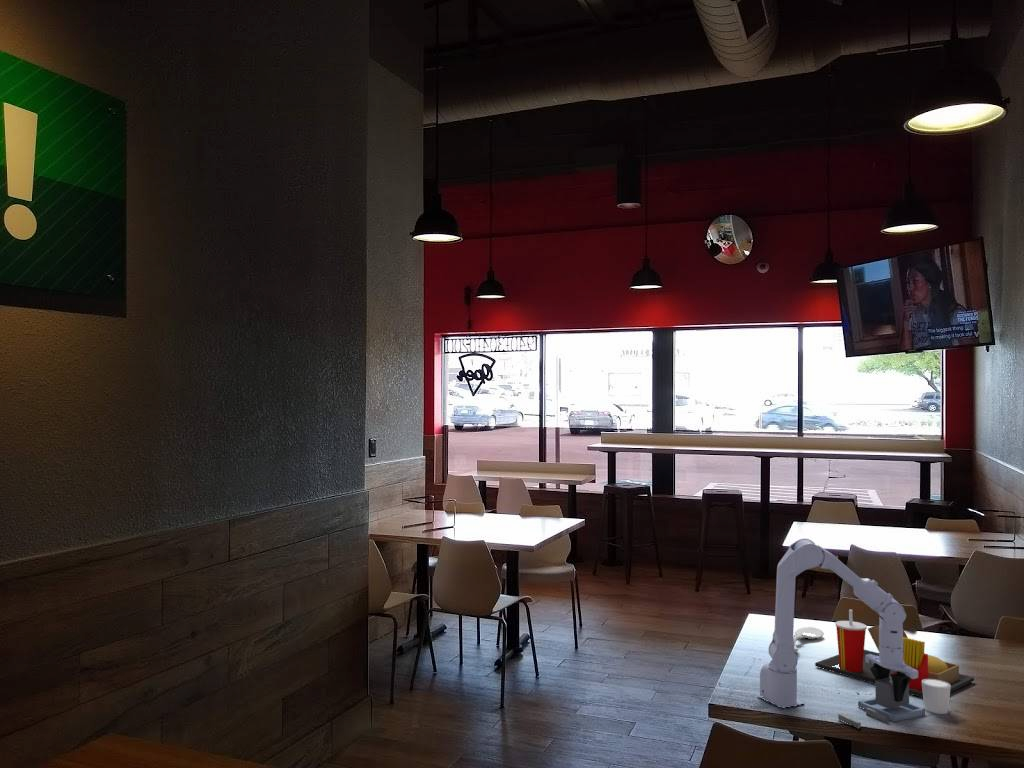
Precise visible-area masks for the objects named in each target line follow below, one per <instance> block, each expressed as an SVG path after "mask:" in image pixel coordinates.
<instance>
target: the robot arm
mask: <svg viewBox="0 0 1024 768" xmlns="http://www.w3.org/2000/svg"><path fill="white" fill-rule="evenodd" d="M818 566H819V567H820V569H828V570H830V571H832V572H833V573H835V574H836V575H837V576H839V577H840V578H841V579H842V580H843V581H845V582H846V583H847V584H849V585H850V586H851V587H852V588H853V594H854V596H855V597H857V599H859V600H860V601H861V602H863V603H864V604H865V605H866V606H868V607H869V608H870V609H871V610H873V611H874V612H876V614H877V615H879V617H878V618H879V624H878V625H879V651H878V653H879V656H875V655H872V654H868V655H866V662H867V663H873V664H874V666H873V667H870V670H871V672H872V673H873V675H874V677H875V680H880V679H884V678H888V677H889V674H890V671H891V670H892V671H895V672H897V674H896V673H895V674H891V678H892V681H893V686H894V697H895V701H897V702H899V701H902V700H903V696H904V693H905V690H906V687H907V685H908V683H909V682H910V680H911V679H915V678H918V670H916V669H913V668H911V667H910V666H908V665H906V664H904V661H903V629H904V628H903V625H904V621H905V620H906V618H907V613H906V610H905V607H903V605H902V604H901V603H899V602H898V601H897V600H896V599H895V598H894V596H893V595H892V594H891V593H890V592H888V593H887V592H886V591H885V590H884V589H882V588H881V587H879V582H878V581H876V580H874V579H870V578H867V577H865V578H863V577H860V576H859V575H857V574H856V573H855V572H854V571H853V570H852V569H850V568H849V567H848V566H847V564H844V563H843V562H842V561H841V560H840V559H838V558H837V556H835V555H834V554H833V553H831V552H830V551H828V550H826V549H825V548H823V547H821V546H820V545H818V544H816V543H815V542H814V541H812V539H809V538H800V539H798V540H796V541H794V542H793V543H791V544H790V545H789V547H788V549H787V551H786V552H785V554H784V555H783V556H782V558H781V559H780V560H779V562H778V564H777V567H776V587H775V608H774V609H775V610H774V612H775V613H774V629H773V630H774V631H773V633H772V639H771V642H770V643H769V645H768V654H769V656H770V658H771V660H770V662H767V663H765V664H764V665H762V667H761V669H760V672H759V694H758V695H759V696H763V697H761V698H764V699H765V700H768V701H769V702H772V703H773V704H776V705H778V706H780V707H782V708H783V707H789V706H794V707H796V706H795V705H799V706H802V705H801V704H804V705H805V702H804V701H801V700H799V699H798V689H797V688H798V668H797V665H798V656H797V654H796V652H795V651H794V626H795V625H794V624H795V599H796V597H795V596H796V577H797V576H798V575H800V574H802V573H803V572H804V571H806V570H810V569H813V568H814V569H815V568H816V567H818ZM761 698H760V699H761ZM765 700H764V701H765ZM769 702H768V703H769ZM773 704H772V705H773ZM782 708H781V709H782ZM789 708H790V707H789Z"/></svg>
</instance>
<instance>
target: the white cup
mask: <svg viewBox="0 0 1024 768" xmlns="http://www.w3.org/2000/svg"><path fill="white" fill-rule="evenodd" d="M950 688H951V685H950V684H949V683H947V682H945V681H941V680H936V679H924V680H922V691H923V697H922V699H923V708H924V709H925V711H928V712H930V713H932V714H933V713H934V714H941V715H945V714H948V713H949V707H950V699H951V698H950V696H951V692H950Z"/></svg>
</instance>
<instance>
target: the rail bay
mask: <svg viewBox="0 0 1024 768" xmlns="http://www.w3.org/2000/svg"><path fill="white" fill-rule="evenodd" d="M866 714H868V715H867V716H869V715H870V716H869V717H871V716H872V717H871V718H873V717H875V718H874V719H876V718H877V719H876V720H878V719H879V721H880V720H881V721H880V722H883V723H885V722H887V723H889V721H890V720H889V716H887V715H885V714H882V713H880V712H877V711H875V710H873V709H870V708H866V710H865V715H866ZM837 717H838V718H837V720H838V719H839V720H842V721H844V722H846V723H848V724H851V725H853V726H854V727H856V728H857V729H856V728H855V729H856V730H860V729H861V728H860V727H861V726H862V724H861V722H862V721H861V722H860V721H859V720H857V719H854V718H852V717H850V716H847V715H845V714H843V713H838V715H837ZM839 720H838V721H839ZM846 723H845V724H846ZM848 724H847V725H848ZM854 727H853V728H854ZM859 728H860V729H859Z"/></svg>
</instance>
